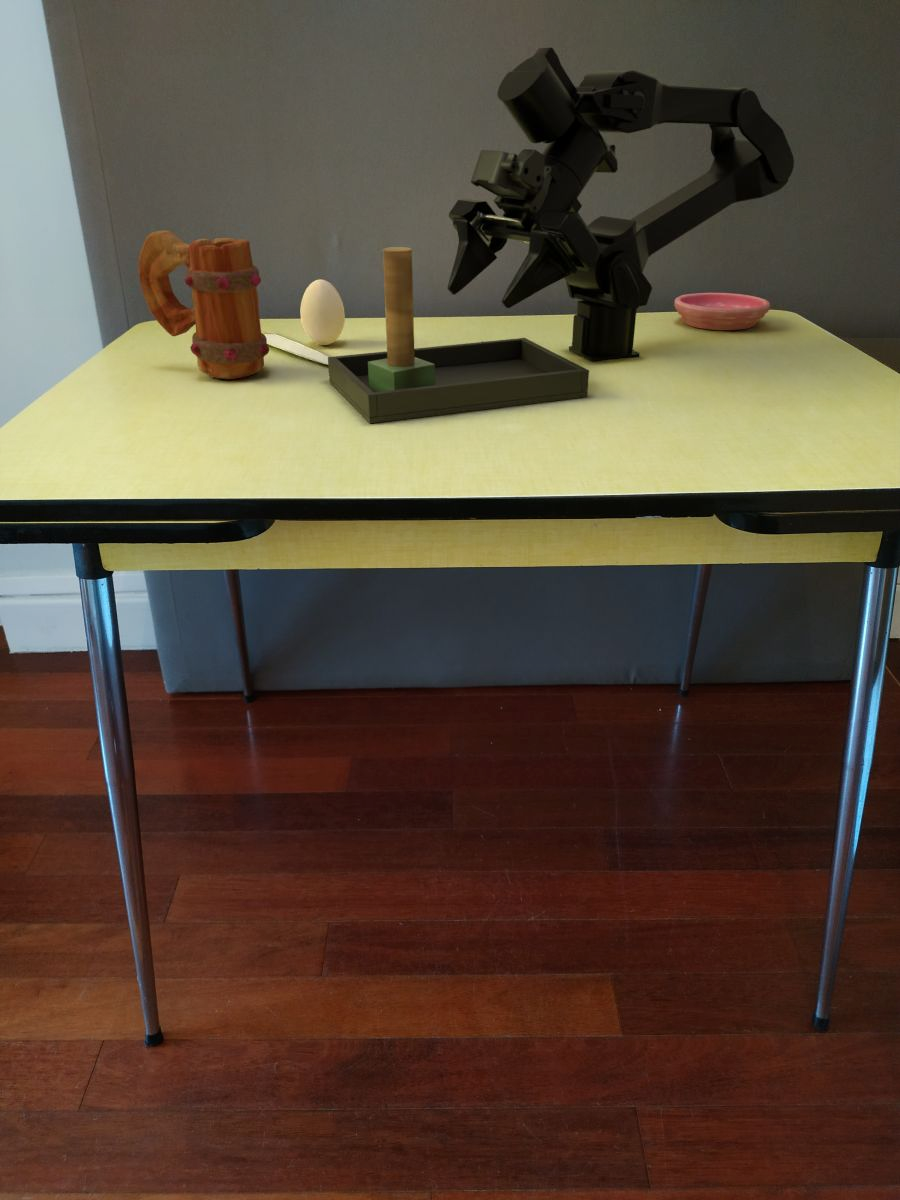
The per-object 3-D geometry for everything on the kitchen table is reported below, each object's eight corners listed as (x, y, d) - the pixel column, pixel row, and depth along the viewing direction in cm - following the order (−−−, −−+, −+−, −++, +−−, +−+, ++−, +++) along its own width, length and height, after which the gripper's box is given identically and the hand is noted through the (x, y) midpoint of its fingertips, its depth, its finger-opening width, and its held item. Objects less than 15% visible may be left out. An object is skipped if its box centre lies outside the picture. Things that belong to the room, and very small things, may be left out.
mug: (287, 368, 105) (274, 229, 98) (252, 387, 99) (235, 239, 91) (179, 358, 110) (159, 224, 102) (138, 376, 103) (113, 234, 96)
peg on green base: (408, 382, 98) (404, 243, 91) (435, 392, 94) (433, 249, 87) (368, 390, 95) (361, 248, 88) (394, 401, 92) (389, 254, 85)
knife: (362, 373, 107) (327, 374, 104) (227, 321, 129) (195, 320, 126) (363, 362, 106) (328, 363, 103) (227, 311, 129) (195, 311, 126)
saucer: (669, 313, 131) (671, 290, 129) (758, 315, 129) (762, 292, 127) (676, 332, 120) (678, 308, 118) (773, 335, 118) (777, 310, 117)
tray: (524, 361, 107) (524, 337, 106) (587, 396, 95) (589, 370, 93) (329, 382, 100) (327, 356, 99) (369, 423, 87) (368, 395, 86)
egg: (351, 340, 117) (347, 276, 113) (339, 350, 113) (335, 284, 109) (310, 339, 118) (305, 275, 114) (297, 349, 113) (291, 283, 110)
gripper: (461, 116, 97) (380, 236, 97) (585, 118, 84) (491, 257, 84) (516, 192, 105) (441, 303, 105) (636, 204, 92) (551, 332, 91)
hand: (476, 298), depth 96 cm, fingers open, 9 cm apart
